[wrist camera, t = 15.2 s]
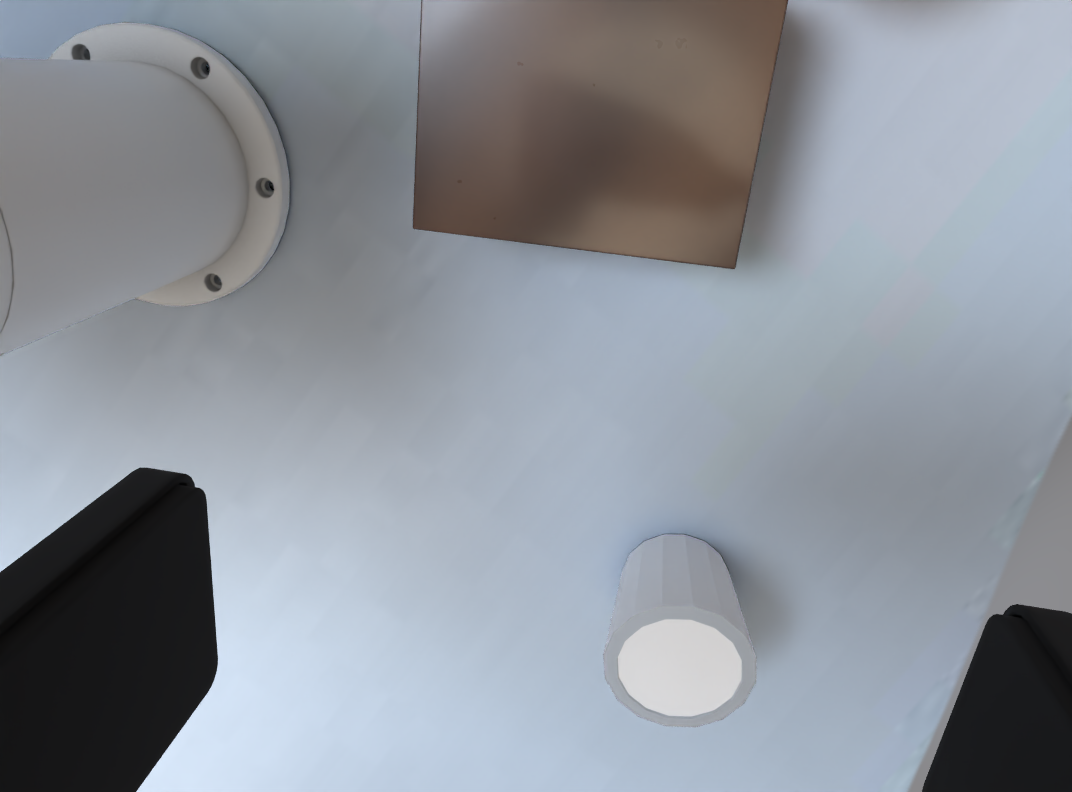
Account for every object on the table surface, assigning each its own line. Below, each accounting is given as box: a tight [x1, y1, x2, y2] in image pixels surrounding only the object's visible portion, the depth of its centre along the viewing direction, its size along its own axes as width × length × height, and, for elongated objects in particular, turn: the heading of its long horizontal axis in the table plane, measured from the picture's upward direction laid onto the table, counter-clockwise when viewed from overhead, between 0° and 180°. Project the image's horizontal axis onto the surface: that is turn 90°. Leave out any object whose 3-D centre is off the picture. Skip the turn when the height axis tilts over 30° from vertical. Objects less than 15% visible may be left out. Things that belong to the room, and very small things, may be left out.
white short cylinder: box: [603, 534, 757, 727], centre depth 39 cm, size 7×7×7 cm
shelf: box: [413, 0, 788, 269], centre depth 31 cm, size 12×10×7 cm
